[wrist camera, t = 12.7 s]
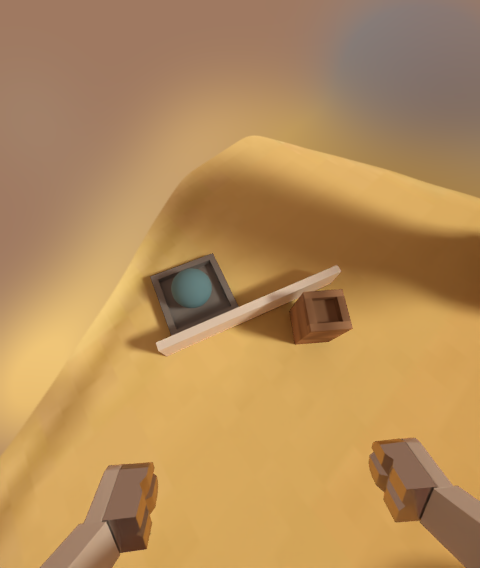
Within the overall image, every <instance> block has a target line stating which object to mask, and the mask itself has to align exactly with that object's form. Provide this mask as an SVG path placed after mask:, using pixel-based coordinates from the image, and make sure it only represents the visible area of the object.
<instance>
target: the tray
mask: <svg viewBox="0 0 480 568" xmlns="http://www.w3.org/2000/svg"><path fill="white" fill-rule="evenodd" d="M189 268H194V269H198V270H201V271H203V272H204V273H205V274H206V275H207V276H208V277H209V279H210V281H211V285H212V291H211V295H210V297H209V299H208V300H207V302H206V303H205V304H203V305H202V306H200V307H197V308H186V307H183V306H181V305H180V304H178V303H177V302H176V301H175V299H174V297H173V295H172V291H171V285H172V281H173V279H174V277H175V276H176V275H177V274H178V273H179V272H181V271H182V270H185V269H189ZM151 280H152V283H153V286H154V288H155V291H156V294H157V297H158V300H159V302H160V305H161V308H162V311H163V313H164V316H165V319H166V322H167V325H168V327H169V330H170V333H171V336H172V335H175V334H177V333H179V332H182V331H184V330H186V329H189V328H191V327H193V326H196V325H198V324H200V323H203V322H205V321H207V320H210V319H212V318H214V317H217V316H219V315H221V314H224V313H226V312H228V311H231V310H233V309H235V308H238V305H237V302H236V300H235V298H234V296H233V294H232V292H231V290H230V288H229V286H228V284H227V282H226V280H225V278H224V276H223V273H222V271H221V269H220V267H219V265H218V263H217V261H216V259H215V257H214V255H213V253H212V254H210V255H207V256H204V257H201V258H199V259H196V260H193V261H191V262H188V263H185V264H183V265H180V266H177V267H175V268H172V269H169V270H167V271H164V272H161V273H159V274H156V275H153V276H151Z"/></svg>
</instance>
